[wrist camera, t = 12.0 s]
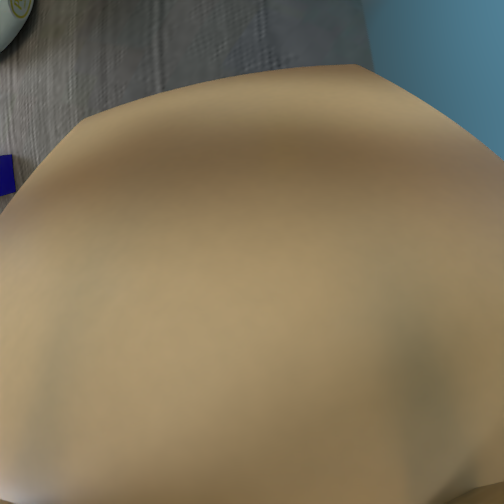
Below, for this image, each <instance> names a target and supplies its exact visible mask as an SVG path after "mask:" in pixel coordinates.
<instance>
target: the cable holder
mask: <svg viewBox="0 0 504 504" xmlns="http://www.w3.org/2000/svg"><path fill="white" fill-rule="evenodd" d="M13 192H16V189H15V181H14V173H13V163H12V154H11V155H3V156H0V196H3V195H6V194H9V193H13Z"/></svg>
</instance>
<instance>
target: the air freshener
mask: <svg viewBox="0 0 504 504" xmlns="http://www.w3.org/2000/svg"><path fill="white" fill-rule="evenodd" d="M33 1H34V0H0V52H1V51H2V50H4V49H5V48H6V47H7V46H8V45H9V44H10V42H11V41H12V40H13V39H14V38H15V36H16V35H17V34H18V32H19V31H20V30H21V28H22V27H23V25H24V23H25V22H26V20H27V18H28V16H29V14H30V12H31V9H32V6H33Z"/></svg>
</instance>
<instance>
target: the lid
mask: <svg viewBox="0 0 504 504" xmlns="http://www.w3.org/2000/svg"><path fill="white" fill-rule="evenodd" d="M0 504H504V161H503V160H502V159H501V158H500V157H499V156H497V155H496V154H495V153H494V152H493V151H491V150H490V149H489V148H488V147H486V146H485V145H484V144H483V143H481V142H480V141H479V140H478V139H477V138H475V137H474V136H473V135H471V134H470V133H469V132H467V131H466V130H465V129H463V128H462V127H461V126H459V125H458V124H457V123H455V122H454V121H452V120H451V119H449V118H448V117H447V116H445V115H444V114H442V113H441V112H439V111H438V110H436V109H435V108H433V107H432V106H430V105H429V104H427V103H426V102H424V101H422V100H421V99H419V98H418V97H416V96H414V95H413V94H411V93H409V92H407V91H406V90H404V89H402V88H401V87H399V86H397V85H395V84H394V83H392V82H390V81H388V80H386V79H384V78H383V77H380V76H379V75H377V74H375V73H373V72H371V71H369V70H367V69H365V68H363V67H361V66H359V65H357V64H349V65H326V66H311V67H300V68H290V69H281V70H273V71H265V72H258V73H251V74H245V75H239V76H234V77H228V78H223V79H218V80H213V81H208V82H203V83H199V84H195V85H190V86H186V87H182V88H178V89H174V90H170V91H167V92H163V93H159V94H156V95H152V96H149V97H146V98H142V99H139V100H136V101H133V102H130V103H126V104H123V105H120V106H118V107H115V108H112V109H109V110H106V111H103V112H101V113H98V114H95V115H93V116H90V117H87V118H85V119H83V120H82V121H81V122H80V123H79V124H77V125H76V126H75V127H74V128H73V129H72V130H71V131H70V132H69V133H68V134H67V135H66V137H65V138H64V139H63V140H62V141H61V142H60V143H59V144H58V145H57V146H56V147H55V148H54V149H53V150H52V151H51V152H50V154H49V155H48V156H47V157H46V158H45V159H44V160H43V161H42V163H41V164H40V165H39V166H38V167H37V168H36V170H35V171H34V172H33V173H32V174H31V175H30V177H29V178H28V179H27V180H26V182H25V183H24V184H23V185H22V187H21V188H20V189H19V190H18V192H17V193H16V194H15V196H14V197H13V198H12V200H11V201H10V202H9V204H8V205H7V206H6V208H5V209H4V210H3V212H2V213H1V215H0Z"/></svg>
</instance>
